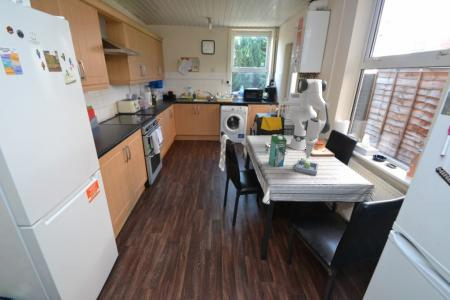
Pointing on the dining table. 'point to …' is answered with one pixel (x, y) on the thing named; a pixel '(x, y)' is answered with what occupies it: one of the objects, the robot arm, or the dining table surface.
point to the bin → (300, 168)
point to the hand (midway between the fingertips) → (308, 155)
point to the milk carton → (277, 150)
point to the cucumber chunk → (307, 165)
